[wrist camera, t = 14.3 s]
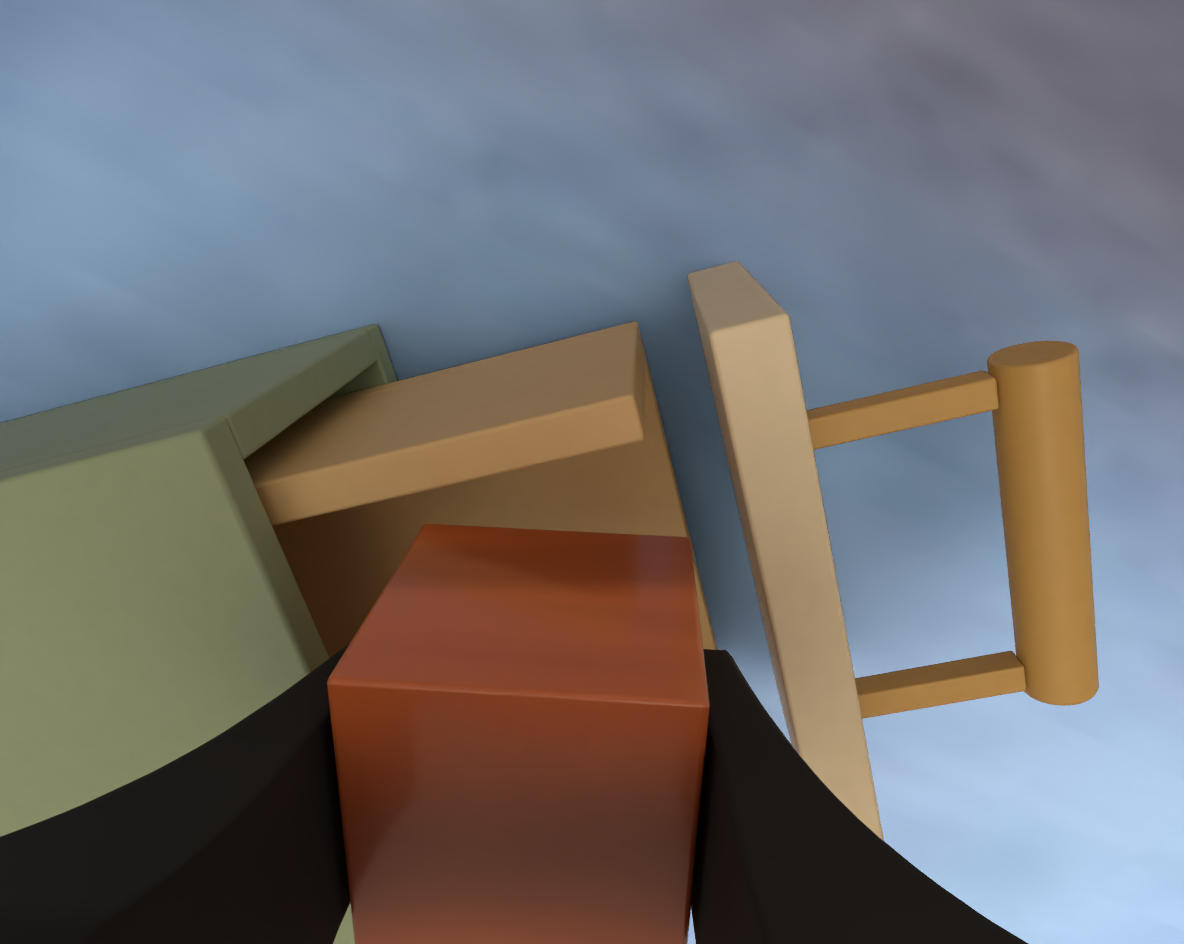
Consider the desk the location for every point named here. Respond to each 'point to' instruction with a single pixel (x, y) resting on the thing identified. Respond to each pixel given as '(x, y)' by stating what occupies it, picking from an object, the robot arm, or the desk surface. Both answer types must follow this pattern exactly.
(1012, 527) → the drawer
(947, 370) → the desk surface
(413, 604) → the block
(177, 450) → the cabinet
